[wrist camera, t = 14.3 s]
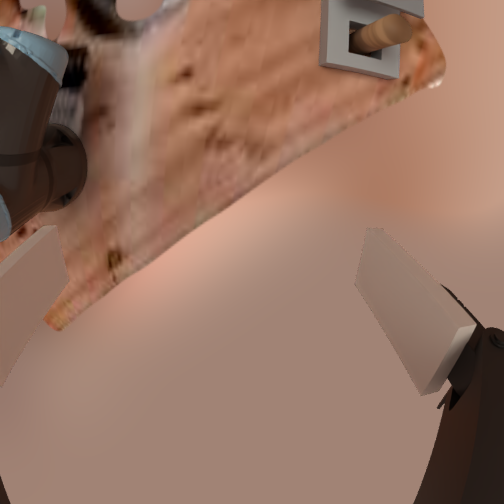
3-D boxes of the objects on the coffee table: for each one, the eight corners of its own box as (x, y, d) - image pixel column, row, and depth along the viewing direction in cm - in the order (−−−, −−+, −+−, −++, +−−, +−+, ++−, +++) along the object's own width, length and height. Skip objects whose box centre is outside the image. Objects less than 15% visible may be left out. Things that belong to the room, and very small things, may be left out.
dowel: (343, 52, 39) (384, 37, 27) (344, 31, 37) (384, 9, 25) (366, 57, 39) (411, 46, 27) (367, 36, 38) (411, 19, 25)
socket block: (318, 65, 40) (343, 55, 30) (321, -19, 33) (344, -45, 23) (386, 79, 41) (423, 76, 31) (388, -1, 34) (421, -18, 24)
